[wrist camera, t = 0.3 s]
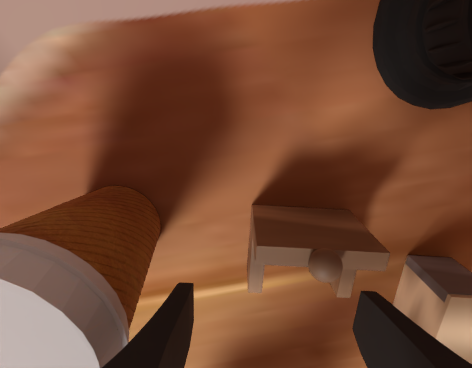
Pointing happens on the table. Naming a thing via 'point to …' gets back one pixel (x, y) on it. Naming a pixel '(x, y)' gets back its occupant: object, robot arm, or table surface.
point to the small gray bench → (312, 245)
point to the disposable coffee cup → (74, 279)
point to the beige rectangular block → (438, 300)
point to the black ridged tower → (425, 50)
